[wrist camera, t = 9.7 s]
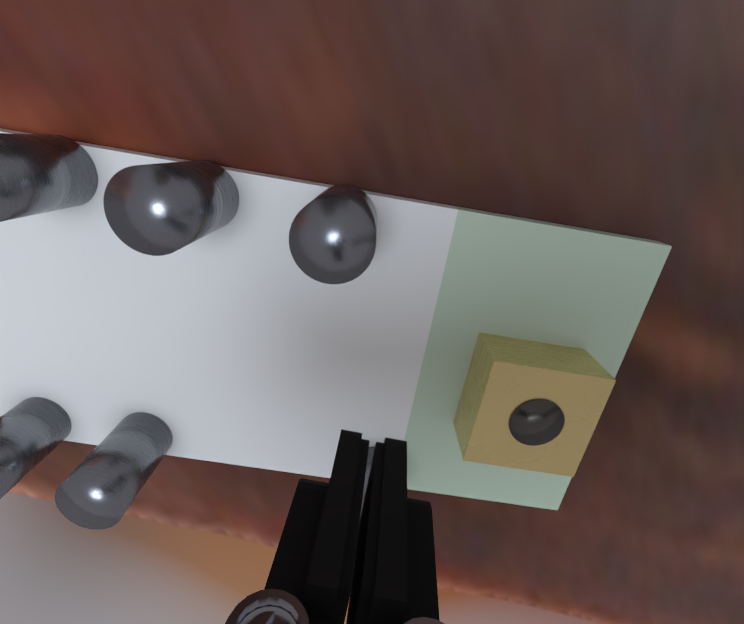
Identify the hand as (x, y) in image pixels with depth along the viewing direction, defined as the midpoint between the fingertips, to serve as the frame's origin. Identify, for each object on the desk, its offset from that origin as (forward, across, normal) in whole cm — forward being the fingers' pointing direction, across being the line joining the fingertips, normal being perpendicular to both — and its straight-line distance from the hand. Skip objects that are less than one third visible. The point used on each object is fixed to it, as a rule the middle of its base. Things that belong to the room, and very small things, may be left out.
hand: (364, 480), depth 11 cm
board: (+8, +3, 0) cm, 9 cm away
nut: (+7, -6, +1) cm, 9 cm away
